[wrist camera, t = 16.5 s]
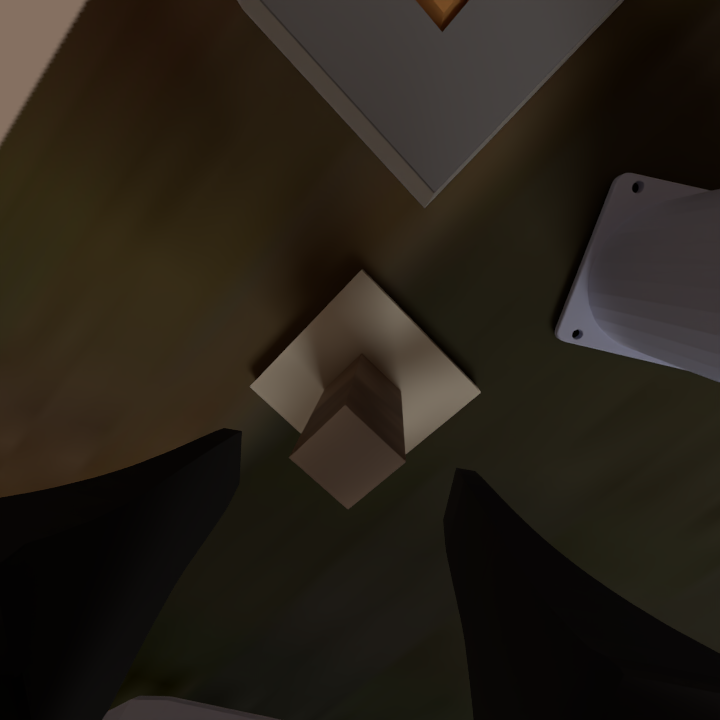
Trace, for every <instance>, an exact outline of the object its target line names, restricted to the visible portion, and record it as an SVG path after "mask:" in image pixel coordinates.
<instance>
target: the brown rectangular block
mask: <svg viewBox="0 0 720 720" xmlns="http://www.w3.org/2000/svg"><path fill="white" fill-rule="evenodd" d="M289 458H290V459H291V460H292V461H293V462H295V463H296V464H297V465H298V466H299V467H300V468H301V469H303V470H304V471H305V472H306V473H307V474H308V475H309V476H311V477H312V478H313V479H314V480H315V481H316V482H317V483H319V484H320V485H321V486H322V487H323V488H324V489H325V490H326V491H328V492H329V493H330V494H331V495H332V496H333V497H334V498H336V499H337V500H338V501H339V502H340V503H341V504H342V505H344V506H345V507H346V508H347V509H349V508H350V507H352V506H353V505H354V504H355V503H356V502H358V501H359V500H360V499H361V498H363V497H364V496H365V495H366V494H367V493H369V492H370V491H371V490H372V489H373V488H375V487H376V486H377V485H378V484H379V483H381V482H382V481H383V480H384V479H386V478H387V477H388V476H389V475H390V474H392V473H393V472H394V471H395V470H396V469H398V468H399V467H400V466H401V465H402V464H404V463H405V462H406V455H405V440H404V425H403V411H402V396H401V391H400V390H399V389H398V388H397V387H396V386H395V385H394V384H393V383H392V382H391V381H390V380H389V379H388V378H387V377H386V376H385V375H384V374H383V373H382V372H381V371H380V370H379V369H378V368H377V367H376V366H375V365H374V364H372V363H371V362H370V361H369V360H368V359H367V358H366V357H365V356H364V355H363V354H362V353H361V354H360V355H359V356H358V357H357V358H356V359H355V360H354V361H353V362H352V363H351V364H350V365H349V366H348V367H347V368H346V369H345V370H344V371H343V372H342V373H341V374H340V375H339V376H338V377H337V378H336V379H335V380H334V381H333V382H332V383H331V384H330V385H329V386H328V387H327V388H326V389H325V390H324V391H323V393H322V395H321V397H320V399H319V401H318V403H317V405H316V407H315V409H314V410H313V412H312V414H311V416H310V418H309V420H308V422H307V424H306V426H305V428H304V430H303V432H302V434H301V436H300V437H299V439H298V441H297V443H296V445H295V447H294V449H293V451H292V453H291V455H290V457H289Z"/></svg>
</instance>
